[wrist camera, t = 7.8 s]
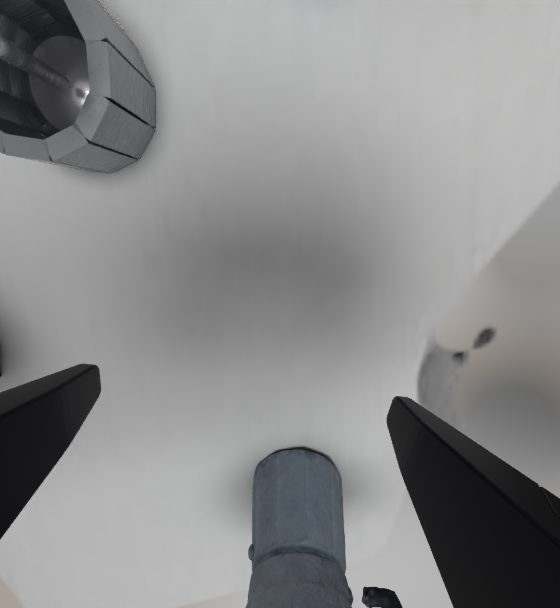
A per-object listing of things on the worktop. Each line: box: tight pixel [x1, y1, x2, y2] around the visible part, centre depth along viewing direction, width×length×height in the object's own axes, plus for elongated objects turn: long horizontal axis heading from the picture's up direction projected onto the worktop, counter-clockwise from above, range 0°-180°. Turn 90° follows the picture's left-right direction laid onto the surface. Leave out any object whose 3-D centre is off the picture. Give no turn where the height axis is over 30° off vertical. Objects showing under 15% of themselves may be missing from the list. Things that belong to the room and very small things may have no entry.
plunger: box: [0, 35, 90, 131], centre depth 12 cm, size 5×5×8 cm
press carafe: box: [0, 0, 156, 173], centre depth 14 cm, size 8×11×5 cm
